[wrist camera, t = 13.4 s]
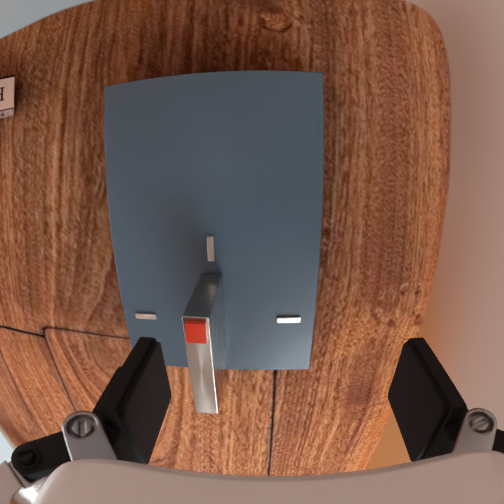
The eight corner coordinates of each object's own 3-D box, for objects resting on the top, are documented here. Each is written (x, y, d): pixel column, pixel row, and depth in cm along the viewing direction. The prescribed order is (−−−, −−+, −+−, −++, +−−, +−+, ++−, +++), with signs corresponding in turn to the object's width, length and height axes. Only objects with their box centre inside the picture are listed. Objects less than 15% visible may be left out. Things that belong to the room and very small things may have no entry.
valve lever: (227, 358, 19) (218, 417, 14) (208, 357, 20) (195, 415, 15) (222, 272, 18) (208, 320, 13) (201, 272, 18) (180, 319, 13)
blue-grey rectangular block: (124, 93, 17) (103, 85, 14) (313, 83, 17) (323, 71, 14) (150, 351, 23) (137, 375, 20) (303, 355, 23) (308, 382, 20)
